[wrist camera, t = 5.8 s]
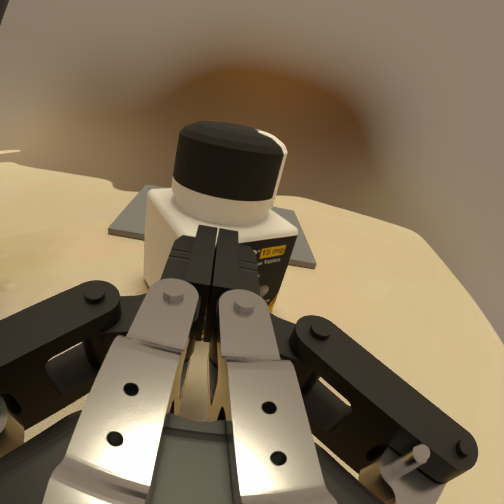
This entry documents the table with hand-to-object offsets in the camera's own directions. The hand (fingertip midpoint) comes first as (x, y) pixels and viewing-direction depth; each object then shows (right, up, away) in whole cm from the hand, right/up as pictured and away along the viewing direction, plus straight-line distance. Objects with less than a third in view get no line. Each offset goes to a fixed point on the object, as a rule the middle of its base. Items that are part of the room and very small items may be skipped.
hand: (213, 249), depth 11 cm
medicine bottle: (-2, -4, +10) cm, 10 cm away
